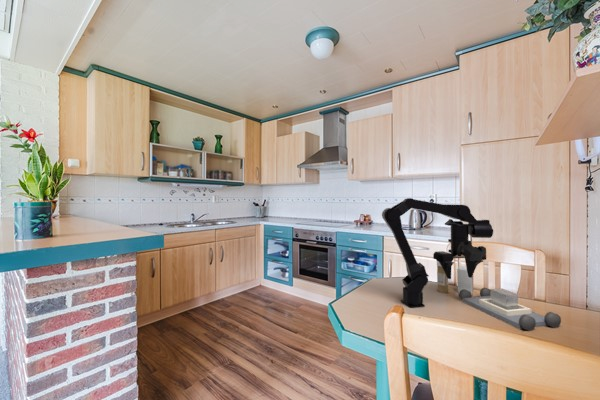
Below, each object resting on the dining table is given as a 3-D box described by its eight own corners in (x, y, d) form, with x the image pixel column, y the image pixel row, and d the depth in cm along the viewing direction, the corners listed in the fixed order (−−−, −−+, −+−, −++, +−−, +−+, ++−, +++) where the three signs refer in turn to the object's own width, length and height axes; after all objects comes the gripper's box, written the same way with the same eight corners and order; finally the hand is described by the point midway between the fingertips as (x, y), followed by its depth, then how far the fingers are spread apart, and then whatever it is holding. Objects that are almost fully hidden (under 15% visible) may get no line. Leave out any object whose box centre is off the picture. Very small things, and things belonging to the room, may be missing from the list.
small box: (472, 295, 109) (472, 271, 109) (457, 292, 112) (457, 268, 112) (473, 290, 115) (473, 267, 115) (459, 287, 118) (459, 265, 119)
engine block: (506, 312, 89) (506, 295, 89) (490, 305, 95) (490, 289, 95) (518, 311, 90) (518, 294, 90) (501, 304, 96) (501, 288, 96)
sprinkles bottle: (451, 292, 112) (450, 262, 112) (442, 293, 111) (442, 262, 111) (443, 289, 116) (442, 260, 116) (434, 290, 115) (434, 260, 116)
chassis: (524, 331, 78) (524, 317, 78) (459, 300, 103) (458, 289, 103) (561, 327, 81) (560, 313, 81) (488, 297, 106) (488, 287, 106)
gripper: (454, 241, 87) (455, 286, 87) (500, 239, 91) (500, 283, 91) (432, 237, 98) (432, 277, 98) (473, 235, 102) (473, 274, 102)
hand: (459, 278), depth 97 cm, fingers open, 9 cm apart
